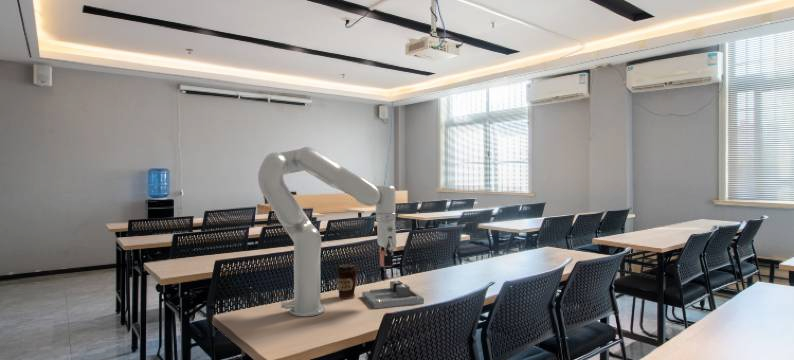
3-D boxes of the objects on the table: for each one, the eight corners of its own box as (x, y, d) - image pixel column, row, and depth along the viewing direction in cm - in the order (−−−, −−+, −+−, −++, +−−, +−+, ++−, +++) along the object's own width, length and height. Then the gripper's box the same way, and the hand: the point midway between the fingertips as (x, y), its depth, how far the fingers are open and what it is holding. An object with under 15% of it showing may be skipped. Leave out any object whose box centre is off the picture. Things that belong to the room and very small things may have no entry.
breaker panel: (374, 308, 167) (374, 292, 167) (362, 296, 183) (362, 281, 183) (423, 303, 174) (423, 287, 173) (407, 292, 190) (407, 277, 189)
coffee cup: (353, 301, 177) (353, 268, 177) (333, 299, 179) (333, 267, 178) (359, 295, 185) (359, 263, 185) (340, 293, 187) (340, 263, 187)
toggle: (400, 297, 173) (399, 287, 173) (396, 295, 177) (396, 284, 176) (409, 296, 174) (409, 286, 174) (405, 294, 178) (405, 284, 178)
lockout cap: (381, 267, 169) (381, 251, 169) (377, 264, 174) (377, 249, 174) (394, 266, 171) (394, 250, 171) (390, 263, 176) (390, 248, 176)
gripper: (402, 219, 165) (402, 268, 166) (387, 215, 181) (388, 259, 182) (383, 220, 163) (383, 269, 163) (370, 215, 179) (370, 261, 179)
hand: (386, 264), depth 172 cm, fingers closed on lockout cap, 4 cm apart
